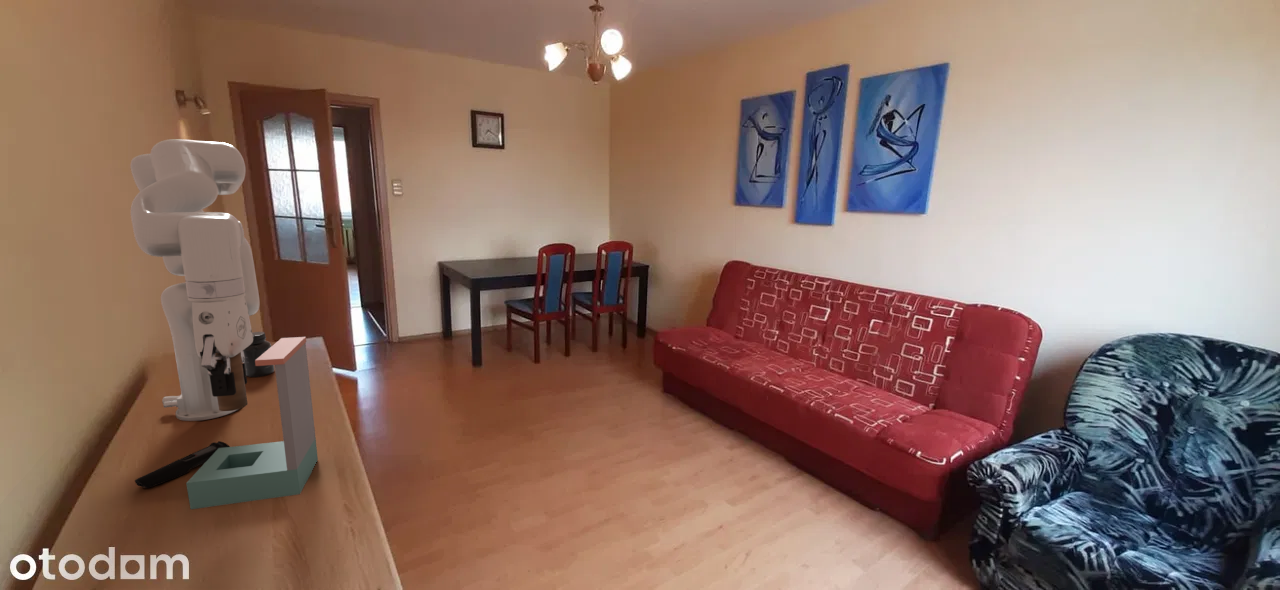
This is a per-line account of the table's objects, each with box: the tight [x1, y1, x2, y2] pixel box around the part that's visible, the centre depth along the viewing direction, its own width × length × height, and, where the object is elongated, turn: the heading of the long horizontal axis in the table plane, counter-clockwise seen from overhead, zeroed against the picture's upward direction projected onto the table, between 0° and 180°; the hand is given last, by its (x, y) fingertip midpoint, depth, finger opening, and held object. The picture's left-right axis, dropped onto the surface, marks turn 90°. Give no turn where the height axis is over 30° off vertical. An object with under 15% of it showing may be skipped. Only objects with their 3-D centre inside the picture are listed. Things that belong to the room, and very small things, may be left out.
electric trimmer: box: [134, 441, 231, 489], centre depth 96 cm, size 4×16×3 cm, turn 165°
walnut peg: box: [215, 352, 248, 411], centre depth 88 cm, size 4×4×10 cm
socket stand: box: [185, 336, 319, 510], centre depth 91 cm, size 16×13×26 cm
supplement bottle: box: [243, 331, 275, 378], centre depth 144 cm, size 7×7×12 cm
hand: (230, 389), depth 88 cm, fingers closed on walnut peg, 4 cm apart
